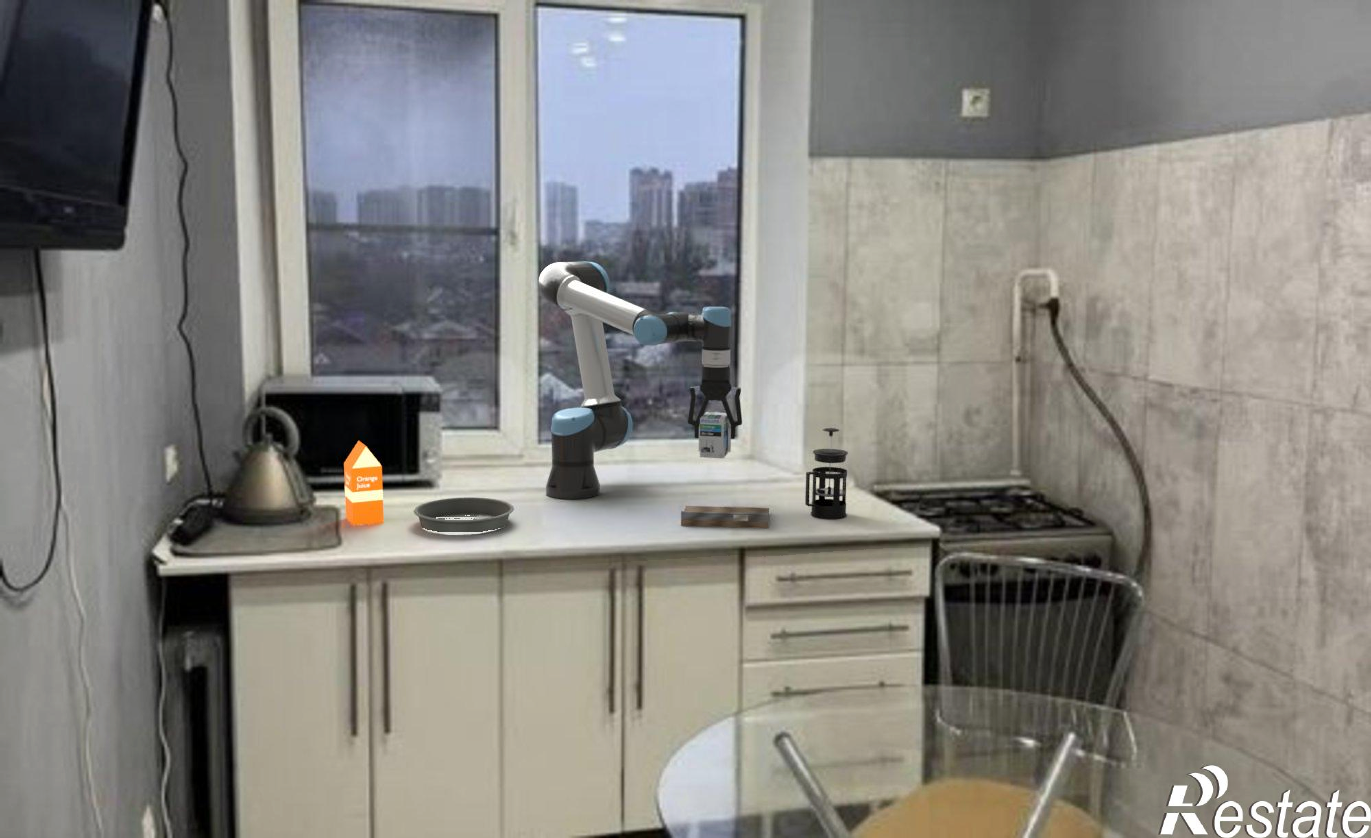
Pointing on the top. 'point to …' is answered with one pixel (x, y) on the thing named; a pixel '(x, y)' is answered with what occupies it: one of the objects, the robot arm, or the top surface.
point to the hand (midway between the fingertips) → (714, 450)
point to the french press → (829, 506)
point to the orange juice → (363, 487)
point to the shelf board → (725, 516)
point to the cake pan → (463, 514)
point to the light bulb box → (714, 435)
